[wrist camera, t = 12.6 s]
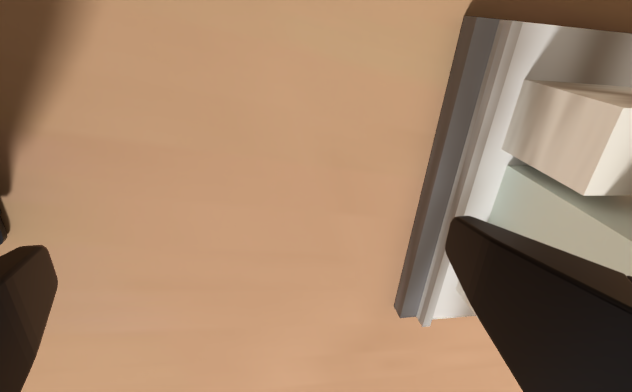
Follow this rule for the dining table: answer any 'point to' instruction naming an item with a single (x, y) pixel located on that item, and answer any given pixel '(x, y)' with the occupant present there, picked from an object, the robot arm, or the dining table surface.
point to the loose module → (565, 217)
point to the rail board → (516, 137)
